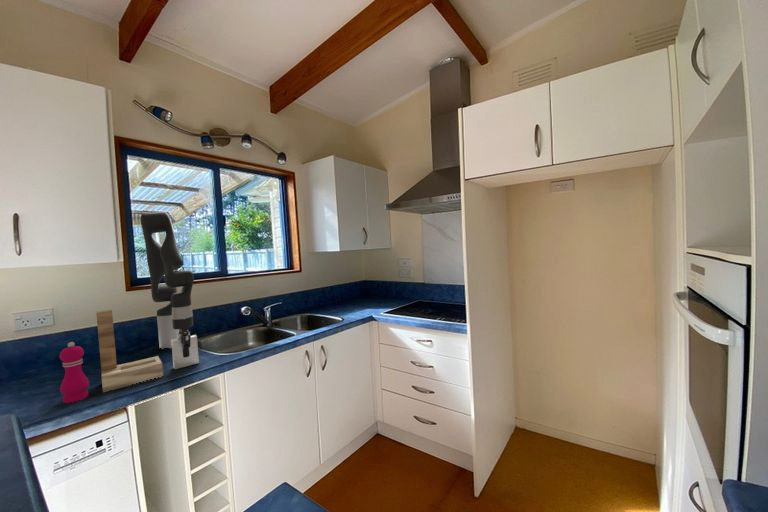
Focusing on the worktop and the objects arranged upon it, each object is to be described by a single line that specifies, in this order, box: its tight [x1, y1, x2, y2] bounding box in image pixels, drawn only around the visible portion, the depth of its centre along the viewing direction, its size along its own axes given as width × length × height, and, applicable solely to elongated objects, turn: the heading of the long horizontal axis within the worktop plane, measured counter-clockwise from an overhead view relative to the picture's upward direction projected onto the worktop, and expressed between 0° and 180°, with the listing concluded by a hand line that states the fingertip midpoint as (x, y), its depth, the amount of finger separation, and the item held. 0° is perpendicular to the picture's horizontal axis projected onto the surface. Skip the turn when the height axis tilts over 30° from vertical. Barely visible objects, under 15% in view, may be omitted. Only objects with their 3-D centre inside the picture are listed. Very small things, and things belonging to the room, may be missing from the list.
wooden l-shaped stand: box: [96, 309, 164, 393], centre depth 123 cm, size 12×18×28 cm, turn 132°
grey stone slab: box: [171, 334, 200, 370], centre depth 136 cm, size 3×9×12 cm, turn 133°
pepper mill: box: [59, 341, 90, 404], centre depth 109 cm, size 7×7×20 cm
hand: (185, 355), depth 136 cm, fingers closed on grey stone slab, 3 cm apart
